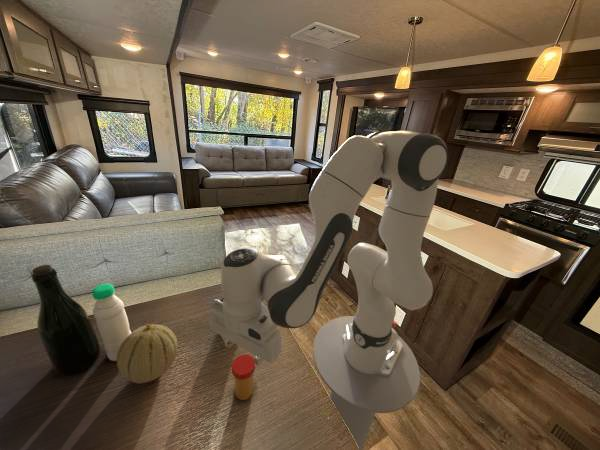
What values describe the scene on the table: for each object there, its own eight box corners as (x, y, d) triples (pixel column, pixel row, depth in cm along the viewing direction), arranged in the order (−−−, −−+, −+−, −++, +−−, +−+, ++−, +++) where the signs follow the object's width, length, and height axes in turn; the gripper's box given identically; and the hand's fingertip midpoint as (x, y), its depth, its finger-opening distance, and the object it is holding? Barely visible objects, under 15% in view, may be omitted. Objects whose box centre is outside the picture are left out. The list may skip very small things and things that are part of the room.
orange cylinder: (247, 378, 72) (247, 353, 68) (256, 392, 69) (257, 366, 65) (232, 389, 69) (230, 363, 65) (240, 404, 66) (239, 378, 62)
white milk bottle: (106, 349, 77) (85, 285, 67) (133, 338, 82) (116, 276, 72) (109, 366, 73) (86, 299, 62) (137, 354, 77) (119, 289, 67)
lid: (228, 376, 63) (227, 372, 63) (237, 356, 69) (237, 352, 68) (250, 382, 63) (250, 377, 62) (257, 361, 68) (258, 356, 67)
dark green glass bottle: (45, 375, 69) (-5, 278, 56) (77, 344, 78) (41, 255, 65) (82, 378, 69) (41, 282, 56) (109, 346, 78) (80, 258, 65)
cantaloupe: (121, 405, 64) (107, 366, 57) (124, 359, 75) (112, 322, 69) (183, 379, 71) (177, 342, 65) (177, 341, 82) (171, 306, 76)
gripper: (200, 304, 59) (204, 345, 65) (270, 341, 51) (269, 384, 57) (219, 290, 65) (222, 329, 70) (286, 321, 57) (283, 362, 62)
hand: (243, 354), depth 63 cm, fingers open, 8 cm apart
